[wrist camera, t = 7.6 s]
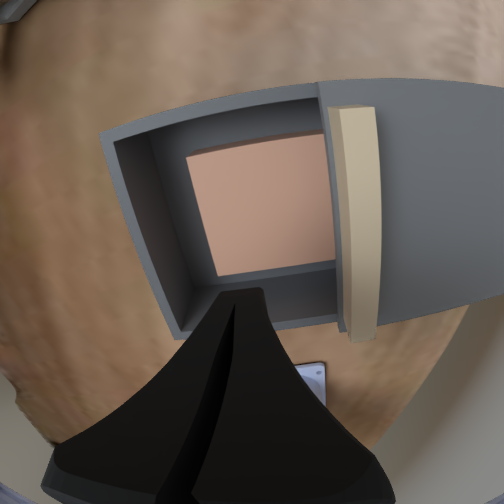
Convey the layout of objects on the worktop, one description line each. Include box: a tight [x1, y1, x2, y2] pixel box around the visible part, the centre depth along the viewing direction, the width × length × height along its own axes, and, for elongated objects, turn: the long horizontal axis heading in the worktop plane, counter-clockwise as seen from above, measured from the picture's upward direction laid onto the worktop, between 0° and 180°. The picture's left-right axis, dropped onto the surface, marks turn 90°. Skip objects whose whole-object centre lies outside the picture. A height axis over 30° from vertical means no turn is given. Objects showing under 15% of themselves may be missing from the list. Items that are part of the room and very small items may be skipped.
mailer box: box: [99, 83, 338, 340], centre depth 16 cm, size 12×14×5 cm
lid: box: [315, 78, 504, 343], centre depth 11 cm, size 12×14×2 cm
